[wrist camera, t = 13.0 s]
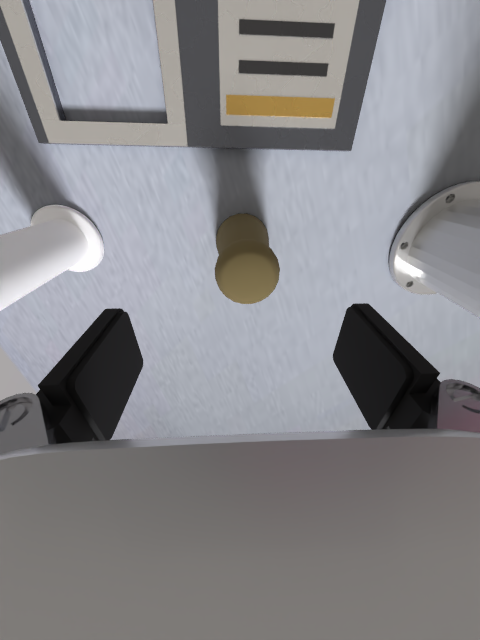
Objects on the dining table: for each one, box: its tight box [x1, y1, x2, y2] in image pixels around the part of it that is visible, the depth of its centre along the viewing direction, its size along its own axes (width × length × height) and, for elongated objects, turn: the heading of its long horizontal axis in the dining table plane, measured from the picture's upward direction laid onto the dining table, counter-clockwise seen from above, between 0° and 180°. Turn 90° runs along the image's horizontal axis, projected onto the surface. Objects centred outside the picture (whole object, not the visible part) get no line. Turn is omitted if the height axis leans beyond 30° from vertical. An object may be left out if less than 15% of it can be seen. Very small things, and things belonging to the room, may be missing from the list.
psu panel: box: [0, 0, 386, 151], centre depth 17 cm, size 28×12×1 cm, turn 89°
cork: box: [215, 214, 280, 304], centre depth 21 cm, size 6×6×11 cm
